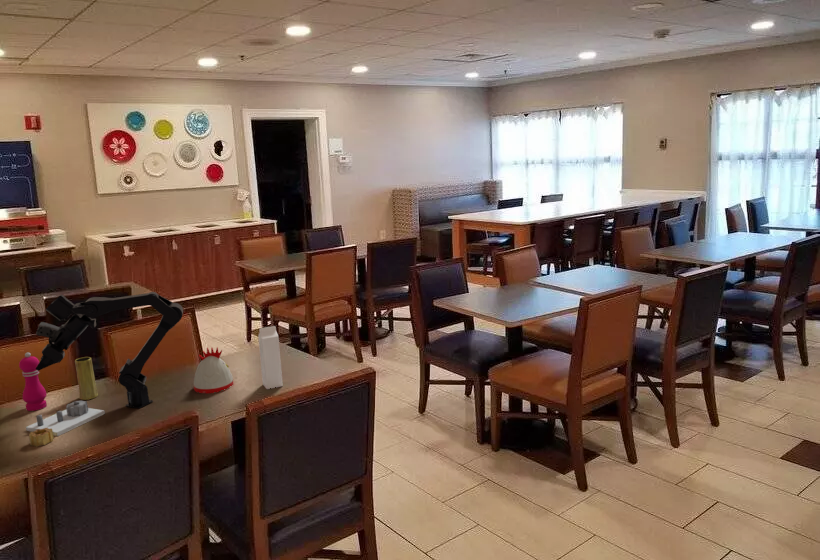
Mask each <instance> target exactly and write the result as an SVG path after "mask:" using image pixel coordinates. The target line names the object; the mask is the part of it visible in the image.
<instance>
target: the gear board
mask: <svg viewBox="0 0 820 560" xmlns="http://www.w3.org/2000/svg"><path fill="white" fill-rule="evenodd" d="M87 401H88V400H74V401H73V402H71V403H68V404H66V406H65V408H66V409H64V410H58V411H56V413H55V414H53V415H50V416H47V417H46V418H43V415H42V414H37V415H36V422H34V423H32V424H29V425H28V426H26V427H25V430H26V431H28V432H34V431H36V430H37V429H44V428H48V429H51V428H52V431H53V437H59V436H61V435H63V434H65V433H67V432H69V431H72V430H74V429H76V428H78V427H80V426H82V425H84V424H86V423H89V422H91V421H92V420H94V419H97V418H99V417H102V416H103V415H105V414H106V412H105V410H104V409H99V408H98V409H97V408H91V407H88V402H87Z"/></svg>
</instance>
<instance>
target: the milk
mask: <svg viewBox="0 0 820 560" xmlns="http://www.w3.org/2000/svg"><path fill="white" fill-rule="evenodd" d="M258 331H259V332H258V335H257V337H258V348H259V358H260V368H261V369H260V370H261V377H262V378H261V379H262V380H261V381H262V385H263V386H264V388H265V389H266V390H271V389H275V387H276V388H279V387H283V386H284V384H283V373H282V361H281V350H280V338H279V334H278V332H277V327H276V325H273V326H265V327H261V328H259V329H258ZM270 388H271V389H270Z"/></svg>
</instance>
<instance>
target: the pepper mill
mask: <svg viewBox="0 0 820 560" xmlns="http://www.w3.org/2000/svg"><path fill="white" fill-rule="evenodd" d="M31 354H32V353H30V352H26V353H24V357H22V358H21V360H20V361H19V364H18V366H19V367H18V368H19V369H20V370H21V374H22V377H24V380H25V385H24V388H23V392H22V401H23V402H24V403H26V404H25V409H26V411H28V412H34V411H39V410H43V409H44V408H46V407H47V400H46V398H47V395H48V393H47V391H46V389H45V387H44V386H43V384H42V383H41V381H40V380H39V374H40V370H39V371H38V370H36V367H37V365H38V364H39V362H40V360H39V359H38V357H36V356H34V355H33V356H31Z"/></svg>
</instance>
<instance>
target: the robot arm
mask: <svg viewBox="0 0 820 560" xmlns="http://www.w3.org/2000/svg"><path fill="white" fill-rule="evenodd" d="M145 306H151V308H153V309H155V310H156V311H157V312H158V313H159V314H160V315H162V316H161V319H160V321H159V324H158V325H157V326H156V327H155V329H154V330H153V332H152V334H151V335H150V336H149V337H148V339H147V340H146V342H145V343H144V345H143V346H142V347H141V348H140V350H139V352H138V353H137V355H136V356H135V357H134V358H133V359H132V360H131V359H130V358H127V359H126V361H125V364H123V366H121V368H120V370H119V372H118V374H119V377H118V381H119V382H118V383H119V384H120V385H121V386H123V387H124V388H125V389H126V397H127V403H126V404H125V407H128V408H134V409H141V408H143V407H145V406H147V405H149V404H151V403H153V401H154V400H152V399H150V397H149V389H148V386H147V385H146V384H145V383H146V381H147V376H146V375H145V374H143V373H142V371H143V368H144V367H145V364H146V363H147V361H148V360H149V359H150V357H151V355H152V354H153V353H154V352H155V350H156V348H157V347H158V346H159V344H160V342H161V343H162V340H163V339H164V338H165V337H166V334H167V333H168V332H169V331H170V330H171V329H172V328H174V327H175V326H176V325H177V324H178V323H179V322H180V321H181V320H182V317H183V313H184V307H183V306H182V305H181V304H180V303H178V302H172V301H171V300H169V299H168V298H166V297H164V296H161V295H160V294H159V293H157V292H156V291H150V292H147V293H139V294H134V295H133V294H132V295H125V296H121V297H120V296H119V297H105V296H101V297H99V296H92V297H89V298H88V299H87V300H86V301H82V302H77V303H73V302H72V301H71V300H69V299H68V298H67V297H66V296H65V295H63V294H60V295H59V296H58V297H57V298H56V299H54V300H53V301H52V302H51V303H50V304H49V305H48V306H47V308H46V309H45V311H46V312H48V313H49V314H50V315H51V316H53V317H55V318H56V319H57V320H58V321H63V320H64V321H66V322H65V323H64V324H61V325H60V326H56V325H54V324H53V323H52V324H51V323H49V322H45V321H41V322H40V323H39V325H38V327H37V330H36V332H35V335H36V336H39V337H40V336H42V337H44V338H45V337H46V338H48V343H47V344H46V345H45V346H44V347H43V348H42V351H41V354H42V355H41V357H40V360H39V364H38V365H37V367H36V370H38V371H39V372H40V371H41V370H43V369H46V368H48V367H50V366H52V365H55V364H58V363H60V362H62V361H63V359H64V358H65V355H66V353H65V351H68V349H69V348H70V346H71V345H72V344H73V343H74V342H76V341H77V340H78V337H79V336H81V334H82V333H83V332H84V331H85V330H86V329H87V327H90V328H92V329H95V328H96V326H97V322H96V321H97V317H100V316H102V315H105V314H108V313H111V312H115V311H118V310H125V309H132V308H138V307H140V308H141V307H145ZM71 315H72V316H71ZM70 316H71V317H70ZM69 317H70V318H69ZM68 318H69V319H68ZM67 319H68V320H67Z"/></svg>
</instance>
